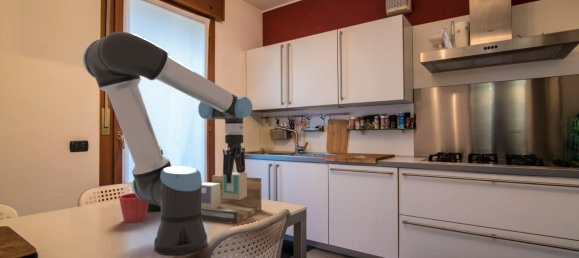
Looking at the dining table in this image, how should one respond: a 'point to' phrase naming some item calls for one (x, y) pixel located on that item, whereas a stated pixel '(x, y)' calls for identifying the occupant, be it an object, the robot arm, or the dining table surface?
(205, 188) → the cream box
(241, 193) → the tea box
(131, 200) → the flower pot
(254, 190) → the shelf
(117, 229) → the dining table surface
